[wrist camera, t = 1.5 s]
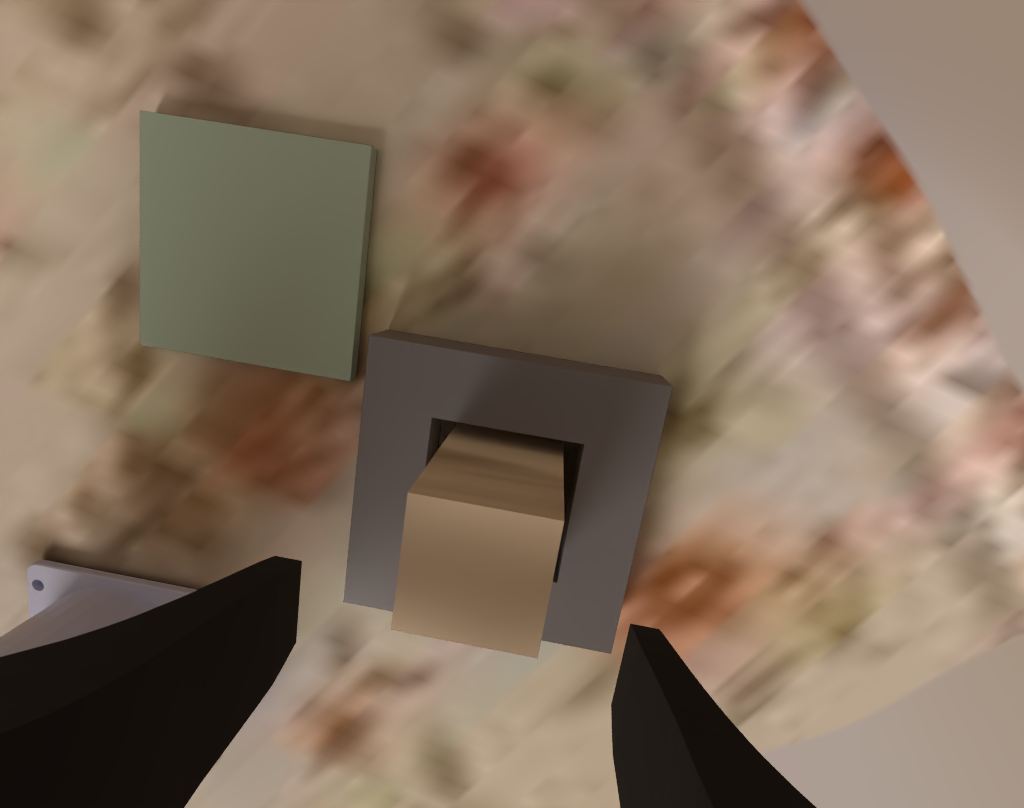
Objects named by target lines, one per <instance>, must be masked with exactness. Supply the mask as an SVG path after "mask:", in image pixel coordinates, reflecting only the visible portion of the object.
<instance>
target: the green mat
mask: <svg viewBox="0 0 1024 808" xmlns="http://www.w3.org/2000/svg"><path fill="white" fill-rule="evenodd" d="M376 158H377V149H375V148H374V147H372V146H370V145H363V144H357V143H350V142H344V141H337V140H330V139H324V138H317V137H311V136H304V135H298V134H291V133H285V132H278V131H272V130H265V129H259V128H252V127H246V126H239V125H233V124H226V123H219V122H213V121H206V120H200V119H193V118H187V117H180V116H174V115H167V114H161V113H154V112H148V111H141V110H140V345H144V346H150V347H155V348H161V349H167V350H173V351H178V352H184V353H190V354H196V355H201V356H207V357H213V358H219V359H224V360H230V361H236V362H241V363H247V364H253V365H259V366H264V367H270V368H276V369H282V370H287V371H293V372H299V373H305V374H310V375H316V376H322V377H328V378H333V379H339V380H345V381H352V380H354V379H356V373H357V363H358V352H359V341H360V330H361V320H362V309H363V298H364V287H365V276H366V266H367V255H368V244H369V233H370V223H371V212H372V201H373V190H374V179H375V169H376Z"/></svg>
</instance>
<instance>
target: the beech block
mask: <svg viewBox="0 0 1024 808" xmlns="http://www.w3.org/2000/svg"><path fill="white" fill-rule="evenodd" d="M563 526H564V462H563V441H562V440H556V439H551V438H545V437H539V436H534V435H528V434H522V433H517V432H511V431H505V430H500V429H494V428H488V427H483V426H477V425H471V424H466V423H460V422H457V424H456V425H455V427H454V428H453V429H452V431H451V432H450V434H449V435H448V436H447V438H446V439H445V441H444V442H443V444H442V445H441V446H440V448H439V449H438V451H437V452H436V453H435V455H434V456H433V458H432V459H431V460H430V462H429V463H428V465H427V466H426V467H425V469H424V470H423V472H422V473H421V474H420V476H419V477H418V479H417V480H416V481H415V483H414V484H413V486H412V487H411V489H410V490H409V491H408V494H407V502H406V510H405V519H404V527H403V535H402V543H401V552H400V560H399V568H398V577H397V585H396V593H395V601H394V610H393V618H392V626H391V630H396V631H401V632H406V633H411V634H416V635H421V636H426V637H431V638H437V639H442V640H447V641H452V642H457V643H462V644H467V645H472V646H478V647H483V648H488V649H493V650H498V651H503V652H508V653H513V654H518V655H524V656H529V657H534V658H538V654H539V649H540V644H541V638H542V633H543V628H544V623H545V618H546V613H547V608H548V603H549V597H550V592H551V587H552V582H553V577H554V572H555V567H556V562H557V556H558V551H559V546H560V541H561V536H562V531H563Z"/></svg>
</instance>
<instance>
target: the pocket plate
mask: <svg viewBox="0 0 1024 808" xmlns="http://www.w3.org/2000/svg"><path fill="white" fill-rule="evenodd" d="M671 391H672V386H671V385H670V384H669V383H668V382H667V381H666V380H665V379H664V378H663V377H662V376H658V375H652V374H646V373H641V372H635V371H629V370H623V369H617V368H611V367H605V366H599V365H593V364H587V363H581V362H575V361H570V360H564V359H558V358H552V357H546V356H540V355H534V354H528V353H522V352H516V351H510V350H504V349H498V348H493V347H487V346H481V345H475V344H469V343H463V342H457V341H451V340H445V339H439V338H433V337H427V336H422V335H416V334H410V333H404V332H398V331H392V330H385V331H382V332H379V333H375V334H372V335H369V343H368V353H367V364H366V374H365V385H364V395H363V405H362V416H361V426H360V436H359V447H358V457H357V467H356V478H355V488H354V498H353V509H352V519H351V529H350V540H349V550H348V560H347V571H346V581H345V591H344V602H346V603H352V604H357V605H362V606H367V607H372V608H377V609H383V610H388V611H393V610H394V601H395V593H396V585H397V577H398V568H399V560H400V552H401V543H402V535H403V527H404V519H405V510H406V502H407V494H408V491H409V490H410V489H411V487H412V486H413V484H414V483H415V481H416V480H417V479H418V477H419V476H420V474H421V473H422V472H423V470H424V469H425V467H426V466H427V465H428V463H429V462H430V460H431V459H432V458H433V456H434V455H435V453H436V452H437V451H438V444H439V437H440V429H441V422H442V419H443V420H449V421H454V422H460V423H466V424H471V425H477V426H483V427H488V428H494V429H500V430H505V431H511V432H517V433H523V434H528V435H534V436H540V437H545V438H551V439H557V440H562V441H568V442H574V443H579V447H578V453H577V458H576V463H575V468H574V473H573V478H572V483H571V489H570V494H569V499H568V504H567V509H566V514H565V519H564V526H563V531H562V536H561V541H560V546H559V551H558V556H557V562H556V567H555V572H554V577H553V582H552V587H551V592H550V597H549V603H548V608H547V613H546V618H545V623H544V628H543V633H542V638H541V640H543V641H548V642H553V643H558V644H563V645H569V646H574V647H579V648H584V649H589V650H594V651H600V652H605V653H610V654H611V652H612V648H613V643H614V639H615V635H616V630H617V626H618V622H619V617H620V613H621V608H622V604H623V600H624V595H625V591H626V587H627V582H628V578H629V574H630V569H631V565H632V561H633V556H634V552H635V548H636V543H637V539H638V535H639V530H640V526H641V522H642V517H643V513H644V509H645V504H646V500H647V496H648V491H649V487H650V483H651V478H652V474H653V470H654V465H655V461H656V457H657V452H658V448H659V444H660V439H661V435H662V431H663V426H664V422H665V418H666V413H667V409H668V405H669V400H670V396H671Z"/></svg>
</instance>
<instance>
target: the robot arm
mask: <svg viewBox="0 0 1024 808" xmlns="http://www.w3.org/2000/svg"><path fill="white" fill-rule="evenodd" d="M301 565H302V561H299V560H294V559H288V558H283V557H278V556H274V557H271V558H268V559H266V560H263V561H261V562H258V563H256V564H254V565H252V566H249V567H247V568H245V569H243V570H241V571H238V572H236V573H234V574H232V575H230V576H228V577H225V578H223V579H221V580H219V581H216V582H214V583H212V584H210V585H208V586H205V587H203V588H201V589H199V590H197V589H191V588H186V587H181V586H176V585H171V584H166V583H161V582H156V581H150V580H145V579H140V578H135V577H130V576H125V575H120V574H115V573H109V572H104V571H99V570H94V569H89V568H84V567H79V566H73V565H68V564H63V563H58V562H53V561H48V560H39V561H37V562H35V563H33V564H31V565H30V566H29V567H28V570H27V577H28V596H29V614H30V619H28V620H26V621H25V622H23V623H22V624H20V625H19V626H17V627H16V628H14V629H12V630H11V631H9V632H8V633H6V634H5V635H3V636H2V637H0V808H184V807H185V805H186V804H187V802H188V801H189V799H190V798H191V797H192V795H193V794H194V792H195V791H196V789H197V788H198V786H199V785H200V783H201V782H202V781H203V779H204V778H205V777H206V775H207V774H208V772H209V771H210V770H211V768H212V767H213V766H214V764H215V763H216V762H217V760H218V759H219V757H220V756H221V755H222V753H223V752H224V751H225V749H226V748H227V747H228V745H229V744H230V742H231V741H232V740H233V738H234V737H235V736H236V734H237V733H238V732H239V730H240V729H241V728H242V726H243V725H244V723H245V722H246V721H247V719H248V718H249V717H250V715H251V714H252V712H253V711H254V710H255V708H256V707H257V706H258V704H259V703H260V701H261V700H262V699H263V697H264V696H265V694H266V693H267V692H268V690H269V689H270V687H271V686H272V684H273V683H274V681H275V679H276V677H277V676H278V674H279V672H280V671H281V669H282V667H283V665H284V663H285V662H286V660H287V658H288V656H289V654H290V652H291V650H292V649H293V647H294V645H295V643H296V635H297V621H298V607H299V593H300V579H301ZM611 709H612V743H613V758H614V766H615V773H616V779H617V786H618V793H619V800H620V807H621V808H816V807H815V806H814V805H813V804H812V803H811V802H810V801H808V799H806V798H805V797H804V796H803V795H802V794H801V793H800V792H799V791H798V790H796V788H794V787H793V786H792V785H791V784H790V783H789V782H788V781H787V780H786V779H785V778H784V777H783V776H782V775H781V774H780V773H779V772H778V771H777V770H776V769H775V768H774V767H773V766H772V765H771V764H770V763H769V762H768V761H767V760H766V759H765V758H764V757H763V756H762V755H761V754H760V753H759V752H758V751H757V750H756V749H755V748H754V746H753V745H752V744H751V743H750V742H749V741H748V740H747V739H746V738H745V736H744V735H743V734H742V733H741V732H740V731H739V730H738V729H737V727H736V726H735V725H734V724H733V723H732V722H731V721H730V720H729V718H728V717H727V716H726V715H725V714H724V712H723V711H722V710H721V709H720V708H719V707H718V705H717V704H716V703H715V702H714V700H713V699H712V698H711V697H710V695H709V694H708V693H707V692H706V690H705V689H704V688H703V687H702V685H701V684H700V683H699V681H698V680H697V679H696V678H695V676H694V675H693V674H692V672H691V671H690V670H689V668H688V667H687V666H686V664H685V663H684V662H683V660H682V659H681V658H680V656H679V655H678V654H677V652H676V651H675V650H674V648H673V647H672V645H671V644H670V643H669V641H668V640H667V639H666V637H665V636H664V635H663V633H662V632H661V631H660V630H659V629H655V628H650V627H644V626H639V625H634V624H630V628H629V632H628V636H627V640H626V645H625V649H624V653H623V657H622V662H621V666H620V670H619V674H618V679H617V683H616V687H615V692H614V696H613V700H612V704H611Z"/></svg>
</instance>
